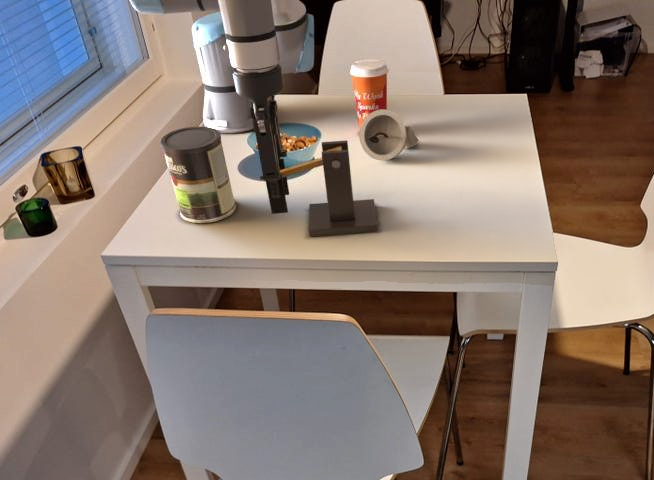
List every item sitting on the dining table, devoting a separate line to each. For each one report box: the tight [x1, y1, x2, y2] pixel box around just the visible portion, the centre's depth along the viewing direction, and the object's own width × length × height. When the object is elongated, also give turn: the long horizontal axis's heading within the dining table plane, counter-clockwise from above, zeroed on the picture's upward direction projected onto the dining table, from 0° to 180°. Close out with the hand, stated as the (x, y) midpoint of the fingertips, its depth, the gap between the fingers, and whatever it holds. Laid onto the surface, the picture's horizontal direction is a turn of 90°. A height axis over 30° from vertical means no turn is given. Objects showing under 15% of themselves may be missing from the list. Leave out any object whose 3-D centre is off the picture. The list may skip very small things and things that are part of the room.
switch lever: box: [279, 146, 343, 178], centre depth 114 cm, size 13×6×2 cm, turn 96°
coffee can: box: [159, 126, 237, 224], centre depth 121 cm, size 10×10×14 cm
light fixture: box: [359, 109, 419, 161], centre depth 140 cm, size 11×16×10 cm, turn 164°
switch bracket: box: [308, 139, 378, 238], centre depth 117 cm, size 12×10×14 cm
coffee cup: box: [349, 58, 390, 129], centre depth 147 cm, size 8×8×15 cm
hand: (280, 202), depth 118 cm, fingers closed on switch lever, 6 cm apart
